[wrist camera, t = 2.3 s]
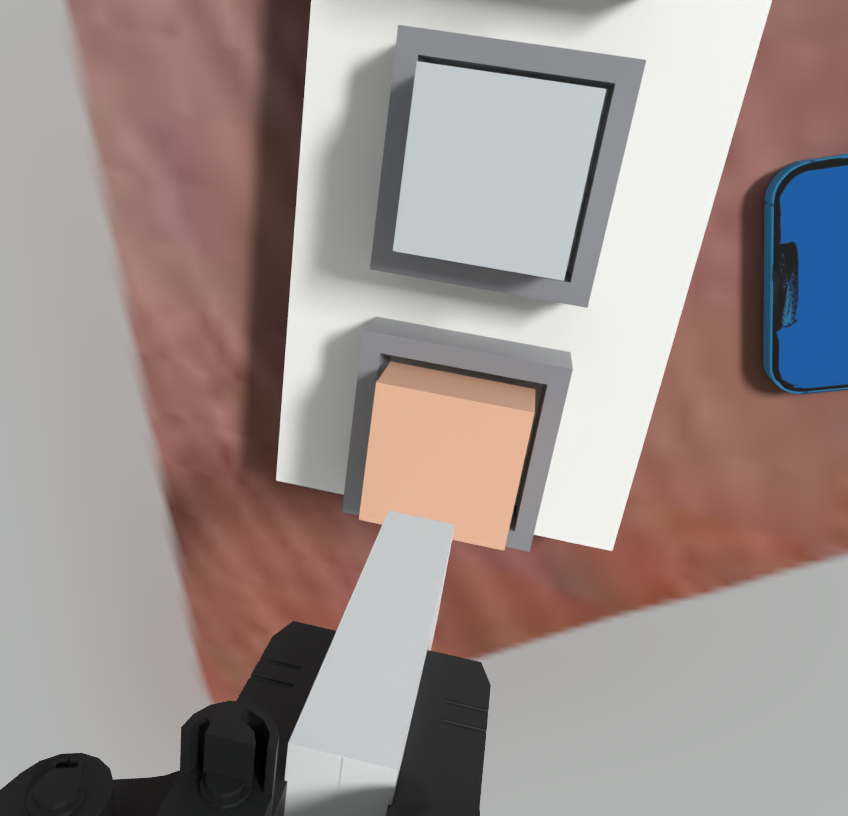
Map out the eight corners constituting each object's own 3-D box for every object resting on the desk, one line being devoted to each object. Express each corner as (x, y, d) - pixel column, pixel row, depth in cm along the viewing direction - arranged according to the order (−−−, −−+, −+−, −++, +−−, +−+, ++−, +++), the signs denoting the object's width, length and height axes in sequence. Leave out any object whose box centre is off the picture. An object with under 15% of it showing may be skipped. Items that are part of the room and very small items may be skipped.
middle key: (429, 70, 18) (416, 61, 16) (599, 95, 17) (606, 88, 16) (406, 241, 19) (392, 251, 18) (561, 268, 19) (564, 281, 17)
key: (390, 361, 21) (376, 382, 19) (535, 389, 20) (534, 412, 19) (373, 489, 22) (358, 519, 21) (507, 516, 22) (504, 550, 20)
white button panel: (364, -315, 18) (315, -443, 14) (825, -271, 17) (910, -398, 13) (298, 452, 27) (256, 504, 23) (605, 515, 26) (617, 581, 22)
